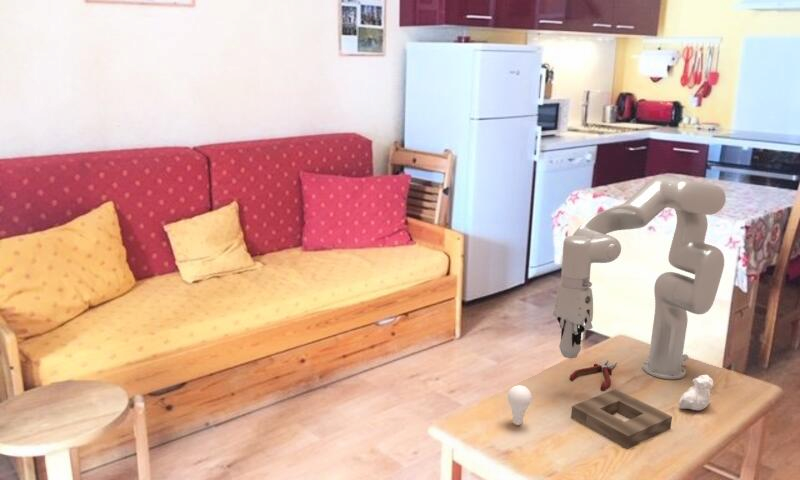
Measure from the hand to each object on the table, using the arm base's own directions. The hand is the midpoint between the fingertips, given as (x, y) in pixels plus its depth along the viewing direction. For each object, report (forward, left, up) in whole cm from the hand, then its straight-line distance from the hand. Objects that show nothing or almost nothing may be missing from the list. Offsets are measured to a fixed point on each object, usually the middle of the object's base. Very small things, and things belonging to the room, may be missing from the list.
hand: (570, 343), depth 190 cm
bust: (-26, +24, -17) cm, 39 cm away
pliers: (-19, -2, -17) cm, 26 cm away
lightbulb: (+23, +4, -17) cm, 28 cm away
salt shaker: (0, 0, -4) cm, 4 cm away
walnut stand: (-1, +18, -16) cm, 24 cm away
